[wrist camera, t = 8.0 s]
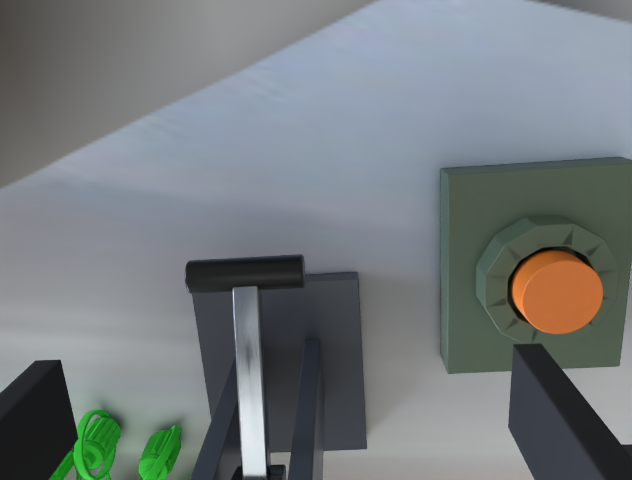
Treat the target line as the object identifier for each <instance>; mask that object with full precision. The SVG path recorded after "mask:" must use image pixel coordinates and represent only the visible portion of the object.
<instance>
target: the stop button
mask: <svg viewBox="0 0 632 480" xmlns="http://www.w3.org/2000/svg"><path fill="white" fill-rule="evenodd" d="M511 295H512V299H513V301H514V303H515V305H516V307H517V308H518V309H519V310H520V312H521V313H522V314H523V315H524V317H525V318H526V319H527V320H528V322H529V323H530V324H531V325H533V326H534V327H535V328H537V329H539V330H541V331H543V332H547V333H552V334H564V333H569V332H572V331H575V330H577V329H580V328H581V327H583V326H585V325H586V324H587V323H589V322H590V321H591V320H592V319H593V318H594V316H595V315H596V314H597V312H598V310H599V308H600V306H601V303H602V300H603V286H602V282H601V280H600V278H599V276H598V275H597V273H596V272H595V271H594V270H593V269H592V268H591V267H589V266H588V265H586V264H585V263H584V262H582V261H581V260H580V259H578V258H577V257H575V256H574V255H572V254H570V253H568V252H565V251H560V250H547V251H542V252H539V253H536V254H534V255H532V256H531V257H529V258H528V259H526V260H525V261H524V262H523V263H522V264H521V265H520V266H519V267H518V269H517V270H516V272H515V274H514V276H513V279H512V283H511Z"/></svg>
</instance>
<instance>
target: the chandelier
mask: <svg viewBox="0 0 632 480" xmlns="http://www.w3.org/2000/svg"><path fill="white" fill-rule="evenodd" d="M95 414H98V415H99V416H100V417H101V418H99V419H96V420H95V421H93V422H92V423H90V425H89V426H88V428H87V429H86V427H87V424H88V422H89V421H90V419H91V418H92V416H93V415H95ZM106 432H107V433H106ZM180 433H181V428H180V427H178V426H176V425H173V426H172V427H171V429H170V430H169V431H168V430H161V431H158V432H156V433H155V434H154V435H153V436H151V438H150V440H149V441H148V443H147V445H146V447H145V449H144V451H143V453H142V456H141V458H140V464H139V467H138V471H139V474H140V478H139V480H164V479H165V478H166V476H167V475H168V474H169V473H170V472H171V471H172V468H173V466H174V464H175V461H176V459H177V457H178V454H179V451H180V449H181V442H180V440H179V435H180ZM77 434H78V438H79V439H78V440H77V441H76V443H75V444H74V452H73V451H71V450H70V451H69V453H68V454H67V455H66V457H65V458H64V460H63V461H62V462H61V464H60V465H59V467H58V468H57V469H56V471H55V472H54V473H53V475H52V476H51V478H50V479H49V480H63V479H64V478H65V476H66V475H67V473H68V472H69V470H70V469H71V467H72V466H73V464H74V466H75V469H76V472H77V480H81V479H82V477H83V478H84V479H85V480H100V479H102V478H104V477H105V476H106V479H107V480H111V478H110V475H109V470H110V469H111V466H112V464H113V461H114V457H115V452H116V444H117V442H118V440H119V438H120V428H119V426H118V424H117V423H116V422H115V421H114V420H112V419H111V417H110V415H109V414H108V413H107V412H106V411H104V410H92V411H89V412H88V413H86V414H85V415H84V416H83V418H82V419H81V421H80V423H79V425H78V428H77ZM165 434H166V435H165ZM104 435H105V436H104ZM104 461H105V464H104V466H103V468H102V470H101V471H100V472H99V474H98V475H96V476H93V475H92V474H91V473H90V472H89V471H88V469H89V470H91V469H96V468H98V467H99V466H100V465H101V464H102V463H103V462H104ZM189 480H190V479H189Z"/></svg>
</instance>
